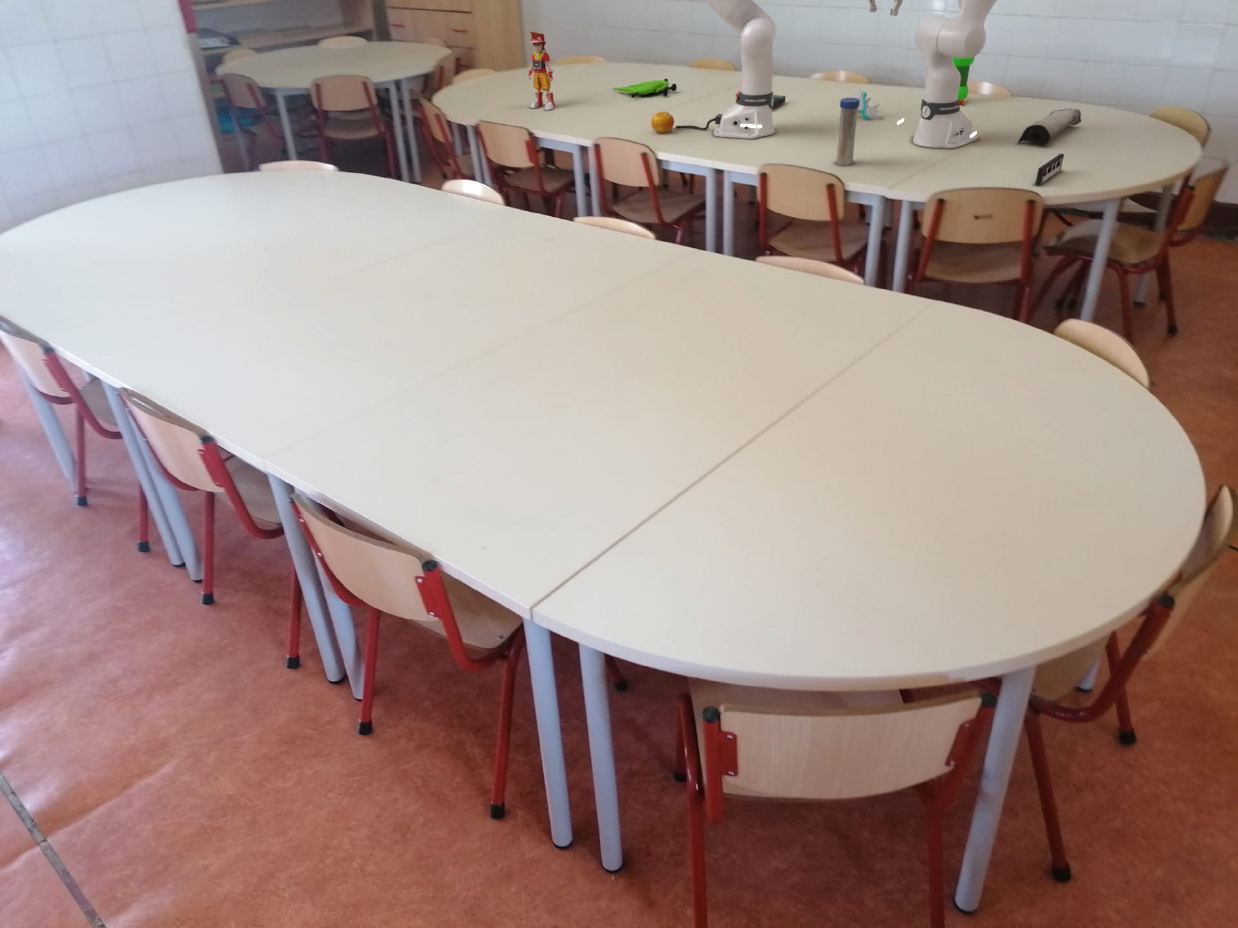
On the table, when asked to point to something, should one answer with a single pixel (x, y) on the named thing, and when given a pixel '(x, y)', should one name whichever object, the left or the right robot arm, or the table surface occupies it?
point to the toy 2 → (648, 88)
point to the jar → (846, 136)
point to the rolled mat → (1050, 126)
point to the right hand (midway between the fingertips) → (883, 14)
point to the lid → (849, 103)
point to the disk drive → (778, 100)
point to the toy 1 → (541, 71)
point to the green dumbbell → (963, 74)
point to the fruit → (662, 122)
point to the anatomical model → (866, 106)
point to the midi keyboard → (1049, 169)
